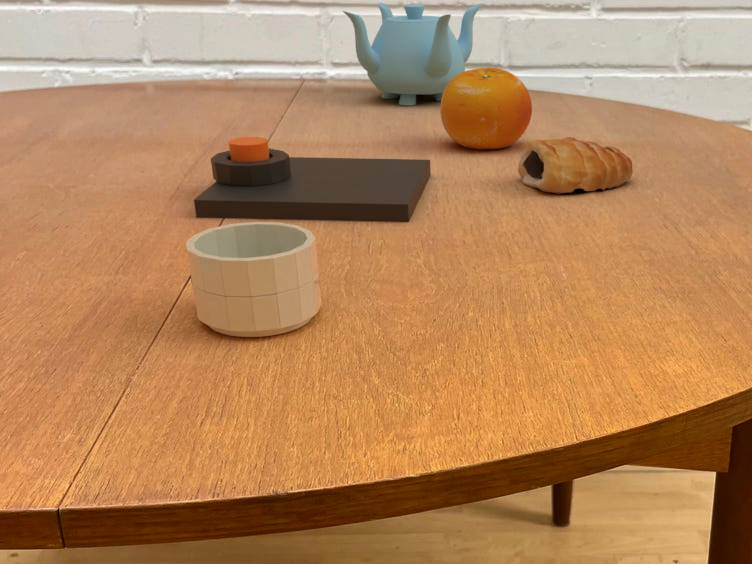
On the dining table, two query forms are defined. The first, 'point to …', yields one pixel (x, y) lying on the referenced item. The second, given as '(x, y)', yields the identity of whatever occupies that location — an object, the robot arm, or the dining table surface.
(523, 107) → the fruit
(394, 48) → the teapot
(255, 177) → the scale
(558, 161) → the pastry
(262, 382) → the dining table surface
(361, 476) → the dining table surface
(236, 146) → the button
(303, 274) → the bowl
